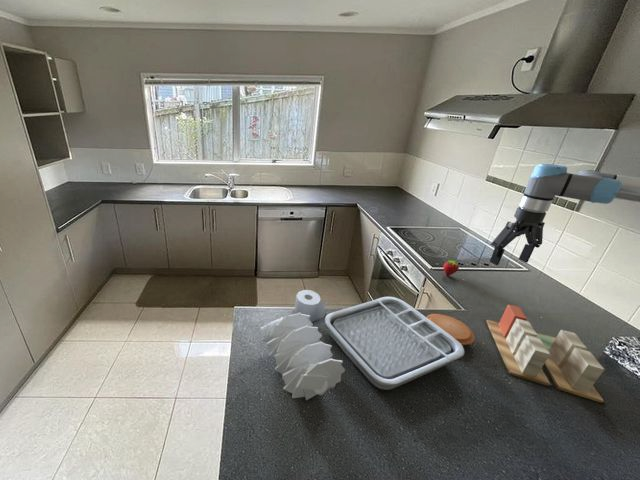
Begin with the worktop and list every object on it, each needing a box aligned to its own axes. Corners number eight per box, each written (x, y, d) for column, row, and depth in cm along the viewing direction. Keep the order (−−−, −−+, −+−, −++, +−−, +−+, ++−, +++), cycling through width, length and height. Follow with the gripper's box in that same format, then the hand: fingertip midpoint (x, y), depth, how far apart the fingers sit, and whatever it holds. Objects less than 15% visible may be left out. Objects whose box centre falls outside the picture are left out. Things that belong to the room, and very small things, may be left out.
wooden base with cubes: (486, 321, 112) (496, 299, 108) (517, 329, 109) (528, 307, 104) (509, 374, 90) (523, 348, 86) (549, 386, 86) (566, 360, 82)
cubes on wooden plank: (523, 331, 108) (535, 308, 104) (557, 340, 104) (571, 317, 100) (557, 389, 86) (575, 363, 81) (602, 403, 82) (623, 376, 78)
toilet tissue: (330, 315, 113) (333, 298, 109) (303, 325, 107) (305, 307, 104) (316, 302, 120) (318, 285, 117) (290, 310, 114) (291, 293, 111)
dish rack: (316, 330, 105) (318, 313, 102) (389, 308, 118) (394, 292, 115) (378, 408, 78) (384, 389, 75) (465, 369, 91) (473, 351, 88)
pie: (477, 357, 96) (483, 346, 94) (427, 344, 100) (430, 333, 98) (464, 327, 109) (468, 317, 107) (419, 316, 114) (423, 306, 112)
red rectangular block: (498, 324, 109) (507, 304, 106) (509, 327, 108) (519, 307, 104) (504, 336, 104) (514, 315, 100) (515, 340, 102) (527, 318, 98)
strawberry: (458, 277, 142) (464, 260, 138) (448, 280, 139) (455, 263, 135) (446, 271, 147) (452, 254, 143) (437, 274, 144) (443, 257, 140)
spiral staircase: (291, 349, 101) (331, 413, 79) (250, 343, 93) (281, 413, 71) (314, 307, 98) (362, 362, 76) (273, 297, 90) (313, 355, 68)
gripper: (547, 204, 103) (524, 255, 111) (492, 206, 98) (472, 259, 106) (572, 211, 96) (545, 264, 104) (514, 214, 91) (490, 269, 99)
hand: (508, 262), depth 105 cm, fingers open, 13 cm apart
